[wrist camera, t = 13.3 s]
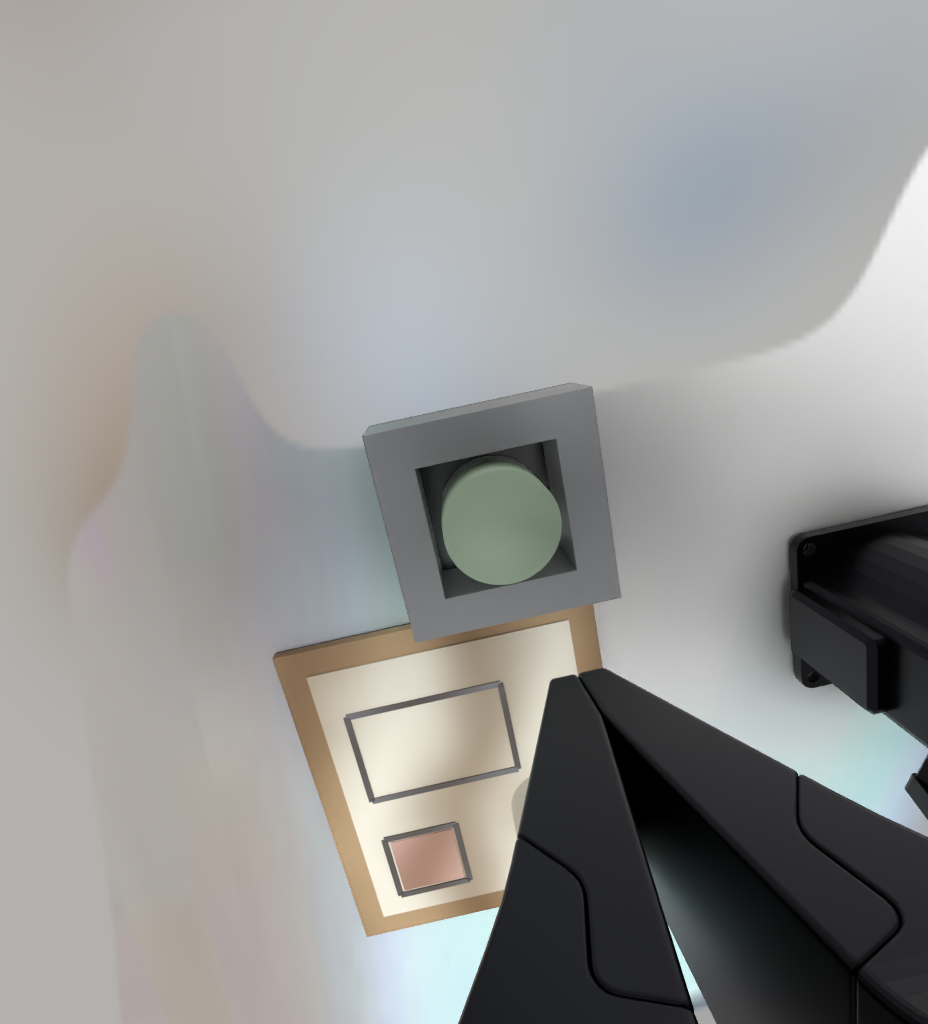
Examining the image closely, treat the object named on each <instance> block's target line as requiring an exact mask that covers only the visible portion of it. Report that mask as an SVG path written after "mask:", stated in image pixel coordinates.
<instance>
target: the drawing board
mask: <svg viewBox="0 0 928 1024" xmlns="http://www.w3.org/2000/svg"><path fill="white" fill-rule="evenodd" d="M273 662H274V665H275V668H276V670H277V673H278V676H279V679H280V682H281V685H282V688H283V691H284V694H285V697H286V700H287V703H288V706H289V709H290V712H291V715H292V718H293V721H294V723H295V726H296V729H297V732H298V735H299V738H300V741H301V744H302V747H303V750H304V753H305V756H306V759H307V762H308V765H309V768H310V771H311V773H312V776H313V779H314V782H315V785H316V788H317V791H318V794H319V797H320V800H321V803H322V806H323V809H324V812H325V815H326V818H327V821H328V823H329V826H330V829H331V832H332V835H333V838H334V841H335V844H336V847H337V850H338V853H339V856H340V859H341V862H342V865H343V868H344V871H345V873H346V876H347V879H348V882H349V885H350V888H351V891H352V894H353V897H354V900H355V903H356V906H357V909H358V912H359V915H360V918H361V921H362V923H363V926H364V929H365V932H366V935H367V937H369V936H373V935H377V934H382V933H386V932H391V931H395V930H399V929H404V928H408V927H413V926H417V925H421V924H426V923H430V922H435V921H439V920H443V919H448V918H452V917H457V916H461V915H465V914H470V913H474V912H479V911H483V910H487V909H492V908H496V907H500V904H501V901H502V897H503V893H504V889H505V885H506V881H507V877H508V873H509V869H510V865H511V861H512V856H513V851H514V847H515V842H516V840H517V836H516V830H515V825H514V820H513V815H512V808H511V803H512V798H513V795H514V793H515V791H516V790H517V788H518V787H519V786H520V785H521V784H522V783H523V782H524V781H525V780H526V779H528V778H529V777H530V773H531V768H532V763H533V759H534V754H535V749H536V744H537V740H538V735H539V730H540V726H541V721H542V716H543V712H544V707H545V702H546V697H547V693H548V688H549V683H550V681H551V680H552V679H554V678H559V677H563V676H568V675H572V674H573V675H576V676H577V677H578V676H579V674H580V673H582V672H586V671H590V670H594V669H599V668H602V662H601V656H600V649H599V642H598V636H597V629H596V623H595V616H594V610H593V604H589V605H585V606H580V607H576V608H571V609H567V610H562V611H557V612H553V613H548V614H544V615H539V616H535V617H530V618H526V619H521V620H517V621H512V622H508V623H503V624H499V625H494V626H489V627H485V628H480V629H476V630H471V631H467V632H462V633H458V634H453V635H449V636H444V637H440V638H435V639H431V640H426V641H421V642H417V643H415V640H414V636H413V633H412V629H411V625H410V624H407V625H402V626H398V627H393V628H389V629H384V630H379V631H375V632H370V633H366V634H361V635H357V636H352V637H348V638H343V639H339V640H334V641H330V642H325V643H320V644H316V645H311V646H307V647H302V648H298V649H293V650H289V651H284V652H280V653H275V655H274V657H273Z"/></svg>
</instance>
